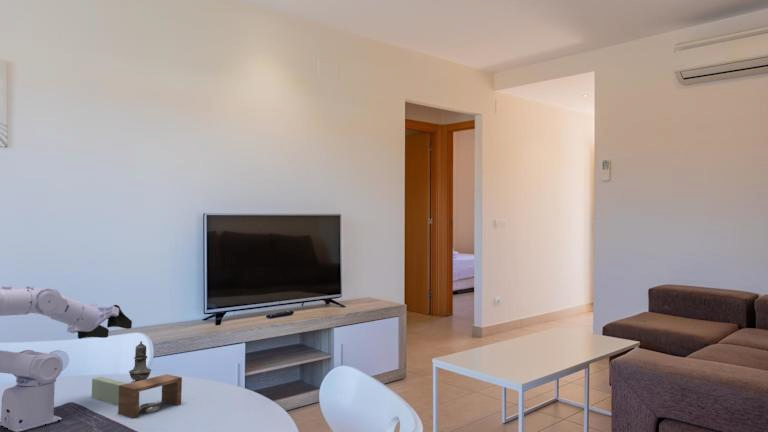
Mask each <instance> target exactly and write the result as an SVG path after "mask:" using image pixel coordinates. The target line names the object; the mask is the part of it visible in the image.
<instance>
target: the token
mask: <svg viewBox="0 0 768 432" xmlns="http://www.w3.org/2000/svg"><path fill="white" fill-rule="evenodd" d="M160 407H161V406H160V403H158V402H147V403H143V404H141V405H139V413H140V414H144V415H146V414H147V415H149V414H155V413H158V412H159V411H160Z"/></svg>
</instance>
